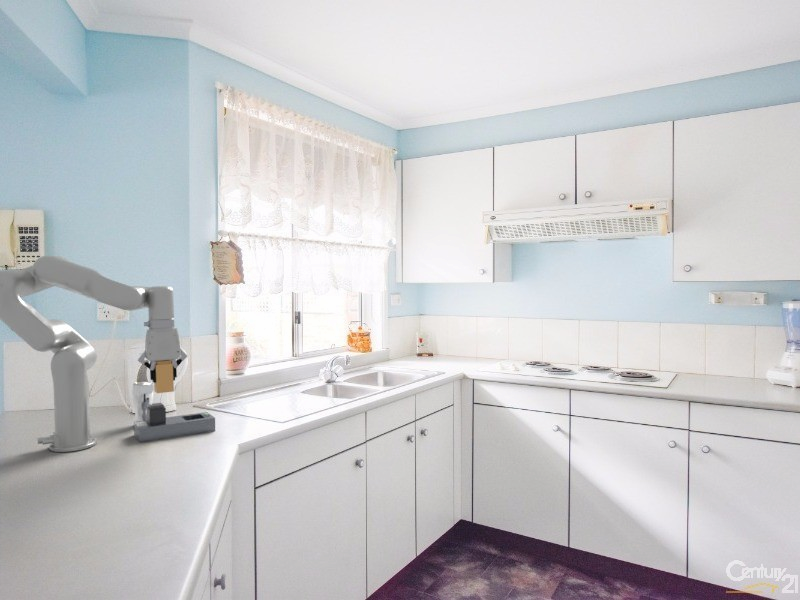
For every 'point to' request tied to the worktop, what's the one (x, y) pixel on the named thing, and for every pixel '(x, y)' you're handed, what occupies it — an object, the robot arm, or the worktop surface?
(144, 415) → the beer glass
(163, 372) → the plug
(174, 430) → the power strip
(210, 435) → the worktop surface
